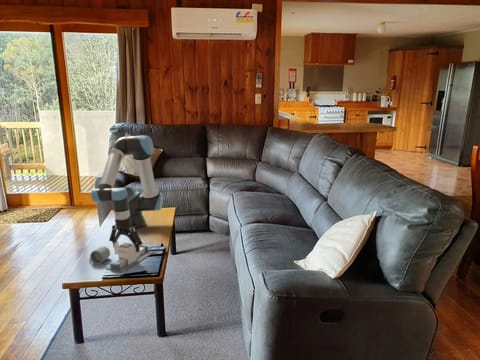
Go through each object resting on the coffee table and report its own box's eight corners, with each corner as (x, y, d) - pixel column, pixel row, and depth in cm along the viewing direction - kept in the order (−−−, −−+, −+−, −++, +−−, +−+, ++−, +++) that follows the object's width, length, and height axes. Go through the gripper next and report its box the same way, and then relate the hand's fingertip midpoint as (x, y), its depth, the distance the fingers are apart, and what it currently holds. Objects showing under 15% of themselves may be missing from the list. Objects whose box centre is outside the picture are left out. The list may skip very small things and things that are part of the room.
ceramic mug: (112, 257, 192) (110, 244, 190) (103, 264, 184) (101, 251, 183) (95, 257, 194) (93, 244, 193) (85, 263, 187) (83, 250, 185)
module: (127, 257, 190) (124, 241, 188) (137, 259, 187) (135, 243, 185) (118, 262, 185) (116, 246, 182) (129, 264, 182) (127, 247, 180)
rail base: (136, 249, 201) (136, 244, 200) (153, 252, 196) (152, 247, 195) (105, 268, 180) (104, 262, 179) (123, 272, 175) (122, 266, 174)
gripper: (98, 217, 182) (104, 254, 187) (136, 222, 172) (141, 262, 177) (109, 213, 189) (114, 249, 194) (146, 217, 178) (150, 255, 184)
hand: (127, 255), depth 185 cm, fingers open, 13 cm apart
